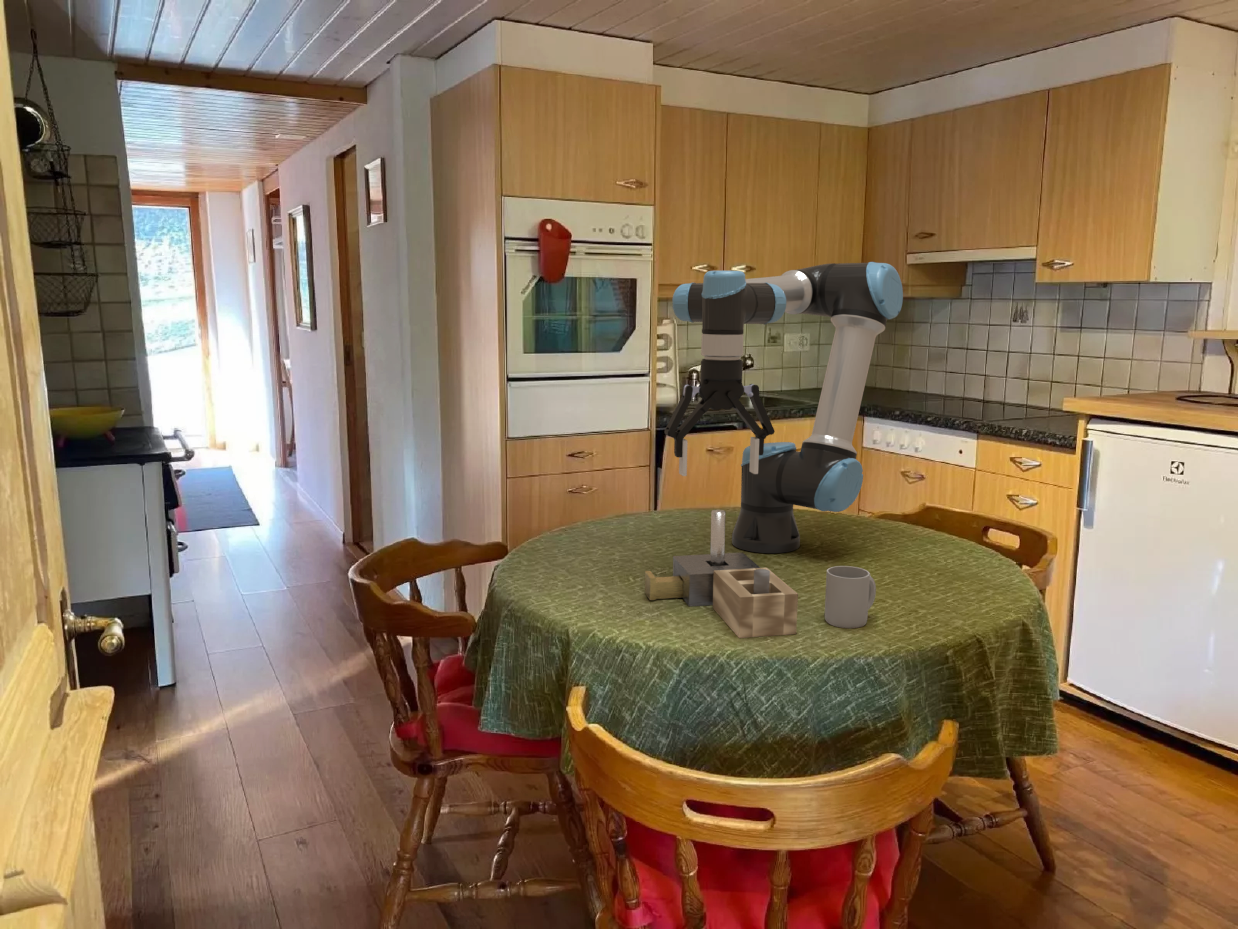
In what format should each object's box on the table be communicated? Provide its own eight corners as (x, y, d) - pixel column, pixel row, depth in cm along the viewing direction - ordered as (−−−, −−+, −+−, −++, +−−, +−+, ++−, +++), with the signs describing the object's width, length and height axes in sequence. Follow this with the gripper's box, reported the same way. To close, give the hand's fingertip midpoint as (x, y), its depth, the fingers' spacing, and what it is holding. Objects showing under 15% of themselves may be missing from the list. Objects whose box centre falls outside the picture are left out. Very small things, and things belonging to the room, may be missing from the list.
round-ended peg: (721, 591, 176) (723, 509, 173) (725, 595, 174) (727, 512, 171) (707, 591, 176) (709, 510, 173) (711, 596, 173) (713, 513, 170)
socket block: (741, 581, 182) (742, 552, 181) (762, 601, 170) (763, 570, 169) (672, 585, 179) (673, 556, 178) (689, 606, 168) (689, 574, 166)
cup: (815, 618, 162) (817, 569, 160) (858, 609, 166) (861, 561, 165) (844, 631, 155) (846, 580, 154) (888, 621, 160) (890, 572, 158)
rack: (765, 604, 169) (767, 551, 167) (796, 633, 154) (798, 576, 152) (712, 607, 167) (713, 554, 165) (739, 637, 152) (740, 579, 151)
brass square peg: (696, 590, 176) (696, 568, 175) (702, 597, 172) (703, 575, 171) (644, 593, 174) (645, 571, 173) (650, 600, 170) (650, 578, 169)
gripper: (779, 356, 172) (775, 468, 176) (649, 356, 168) (648, 471, 171) (795, 359, 165) (790, 475, 169) (659, 359, 160) (657, 479, 164)
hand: (718, 473), depth 170 cm, fingers open, 13 cm apart
